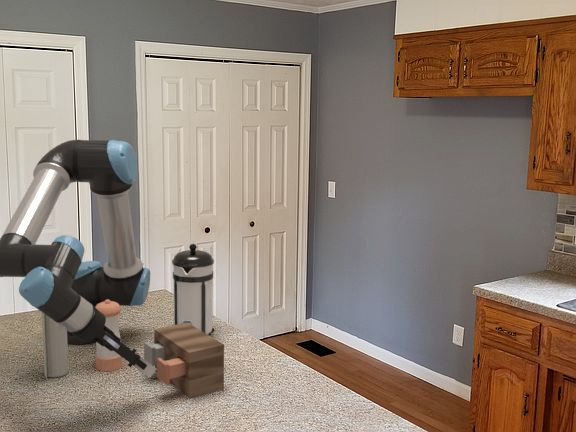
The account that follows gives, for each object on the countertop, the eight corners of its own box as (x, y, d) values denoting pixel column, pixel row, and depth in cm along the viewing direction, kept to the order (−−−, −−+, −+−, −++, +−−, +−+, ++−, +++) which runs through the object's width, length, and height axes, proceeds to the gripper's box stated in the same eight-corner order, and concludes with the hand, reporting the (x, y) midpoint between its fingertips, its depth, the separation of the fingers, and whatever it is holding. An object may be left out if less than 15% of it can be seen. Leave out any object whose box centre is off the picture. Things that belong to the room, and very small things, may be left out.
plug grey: (144, 360, 169) (143, 342, 168) (190, 349, 177) (190, 332, 176) (152, 366, 165) (151, 348, 164) (199, 355, 173) (199, 337, 172)
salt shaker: (111, 359, 180) (109, 294, 177) (128, 365, 176) (126, 299, 173) (90, 367, 174) (87, 300, 171) (107, 373, 170) (105, 305, 167)
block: (154, 371, 173) (154, 329, 171) (187, 363, 179) (187, 322, 177) (189, 398, 157) (188, 352, 155) (223, 388, 163) (224, 344, 161)
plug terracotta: (157, 377, 158) (156, 358, 157) (206, 365, 166) (206, 347, 165) (165, 384, 154) (165, 365, 153) (215, 371, 162) (215, 353, 162)
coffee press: (228, 338, 198) (229, 245, 193) (181, 348, 189) (180, 251, 184) (203, 322, 212) (203, 235, 207) (158, 331, 203) (157, 240, 198)
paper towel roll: (62, 367, 174) (59, 292, 170) (72, 373, 170) (69, 297, 166) (36, 374, 169) (33, 297, 165) (46, 381, 165) (42, 302, 161)
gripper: (61, 324, 145) (131, 376, 158) (80, 341, 135) (153, 395, 148) (83, 298, 148) (150, 351, 160) (103, 313, 137) (173, 368, 150)
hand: (151, 372), depth 154 cm, fingers closed
